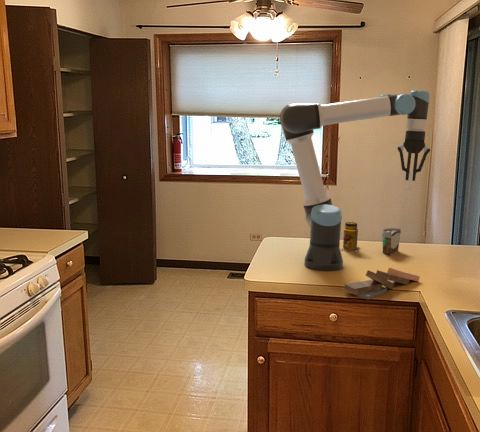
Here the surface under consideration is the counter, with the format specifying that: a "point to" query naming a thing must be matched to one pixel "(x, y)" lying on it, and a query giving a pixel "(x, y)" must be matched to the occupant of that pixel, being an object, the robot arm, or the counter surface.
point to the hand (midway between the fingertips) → (409, 188)
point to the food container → (390, 240)
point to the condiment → (350, 237)
